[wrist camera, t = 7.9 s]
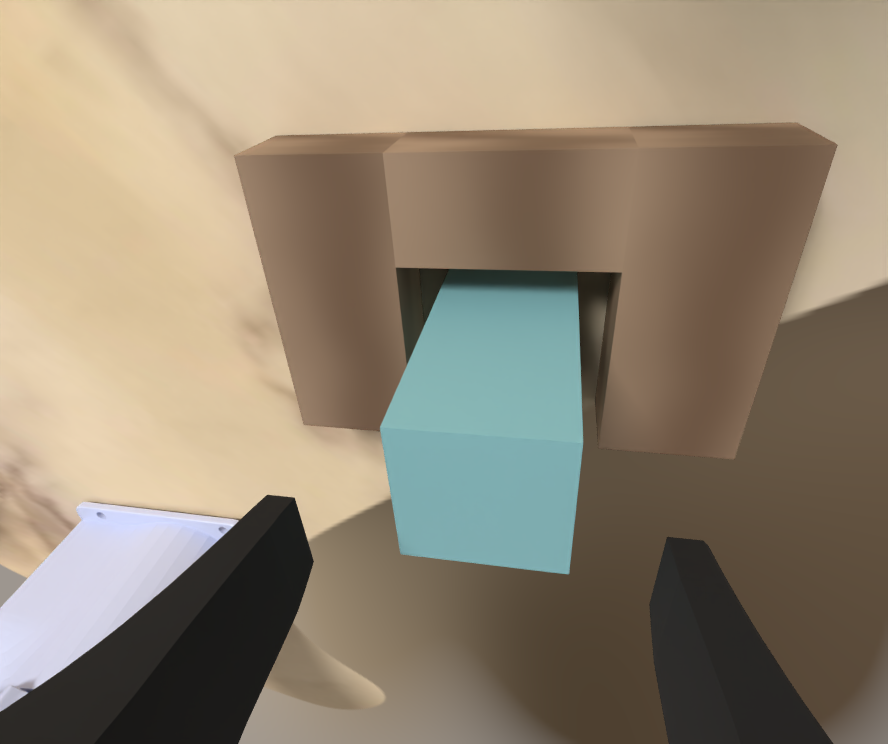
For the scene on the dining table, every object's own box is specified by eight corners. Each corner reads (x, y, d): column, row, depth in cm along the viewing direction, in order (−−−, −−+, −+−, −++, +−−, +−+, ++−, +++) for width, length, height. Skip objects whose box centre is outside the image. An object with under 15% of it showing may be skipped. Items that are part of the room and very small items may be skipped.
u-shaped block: (329, 384, 21) (303, 424, 19) (275, 135, 16) (234, 155, 14) (716, 408, 19) (734, 459, 16) (796, 122, 13) (837, 144, 11)
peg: (455, 371, 20) (400, 554, 13) (449, 268, 17) (379, 427, 11) (568, 377, 19) (568, 574, 12) (577, 270, 17) (583, 443, 10)
